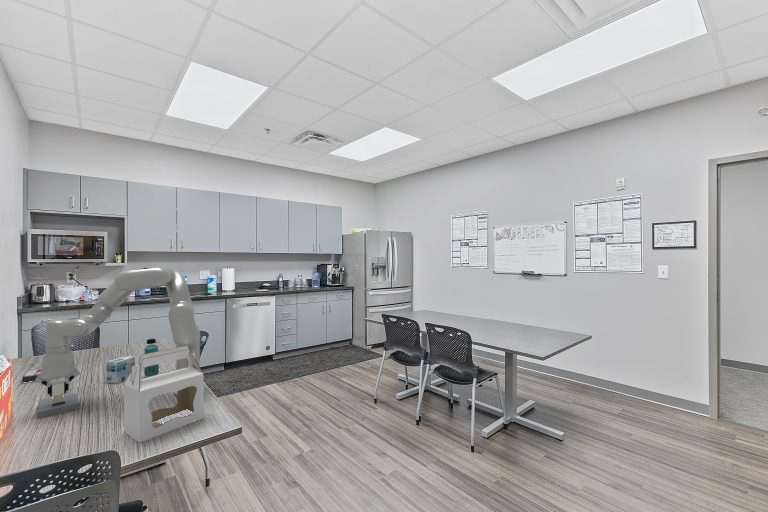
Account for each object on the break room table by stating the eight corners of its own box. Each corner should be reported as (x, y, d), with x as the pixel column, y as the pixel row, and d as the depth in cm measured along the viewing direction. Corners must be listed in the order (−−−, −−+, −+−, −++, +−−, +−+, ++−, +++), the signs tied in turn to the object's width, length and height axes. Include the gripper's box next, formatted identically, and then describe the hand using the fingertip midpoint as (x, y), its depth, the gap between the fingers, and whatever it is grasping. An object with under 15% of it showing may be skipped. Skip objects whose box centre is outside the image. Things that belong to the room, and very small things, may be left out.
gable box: (138, 443, 117) (138, 360, 117) (123, 432, 124) (123, 354, 124) (204, 418, 135) (204, 346, 135) (187, 409, 142) (187, 341, 143)
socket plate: (78, 409, 144) (78, 401, 144) (38, 418, 136) (38, 410, 136) (76, 398, 156) (76, 390, 156) (38, 406, 147) (38, 398, 147)
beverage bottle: (147, 380, 178) (147, 341, 178) (141, 378, 181) (141, 339, 181) (161, 376, 183) (161, 338, 183) (155, 374, 187) (155, 337, 187)
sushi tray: (62, 371, 184) (22, 375, 175) (62, 379, 184) (21, 384, 174) (65, 366, 192) (26, 370, 183) (64, 373, 192) (26, 378, 183)
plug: (64, 401, 143) (64, 383, 143) (51, 403, 140) (52, 385, 141) (63, 398, 146) (64, 380, 147) (52, 400, 144) (52, 382, 144)
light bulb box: (116, 384, 173) (116, 362, 173) (105, 383, 174) (105, 361, 174) (135, 376, 183) (135, 356, 183) (125, 376, 185) (125, 355, 185)
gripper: (84, 344, 152) (83, 386, 152) (29, 351, 140) (29, 397, 140) (85, 347, 147) (85, 391, 147) (29, 355, 135) (29, 402, 135)
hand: (58, 393), depth 143 cm, fingers closed on plug, 3 cm apart
